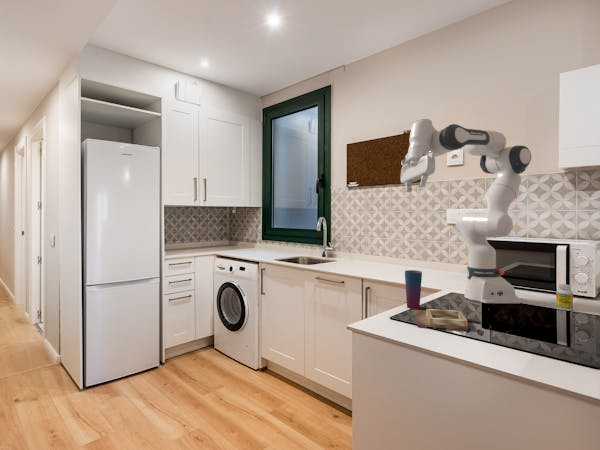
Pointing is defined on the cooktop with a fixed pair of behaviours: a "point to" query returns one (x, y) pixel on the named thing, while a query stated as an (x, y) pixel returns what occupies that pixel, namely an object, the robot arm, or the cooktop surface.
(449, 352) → the cooktop surface
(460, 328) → the light wooden shallow tray
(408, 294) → the cup
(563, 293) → the supplement bottle
